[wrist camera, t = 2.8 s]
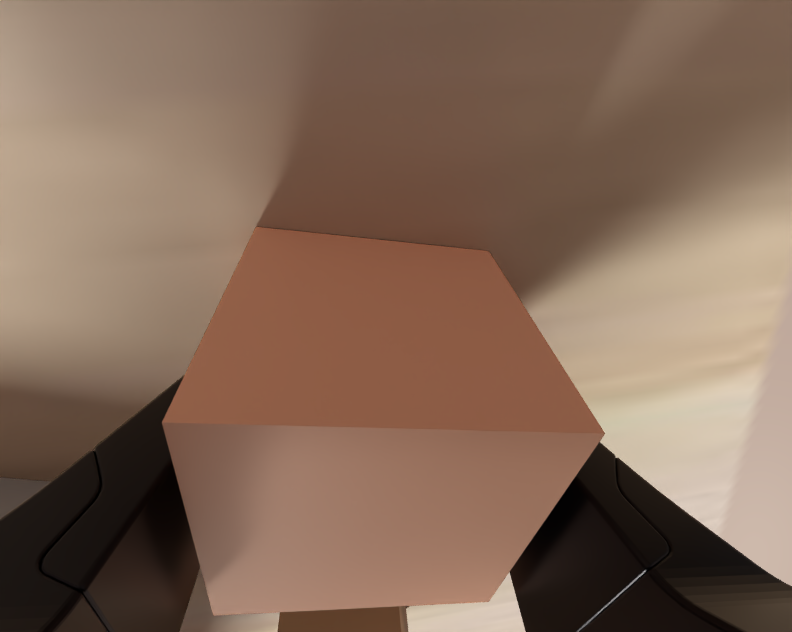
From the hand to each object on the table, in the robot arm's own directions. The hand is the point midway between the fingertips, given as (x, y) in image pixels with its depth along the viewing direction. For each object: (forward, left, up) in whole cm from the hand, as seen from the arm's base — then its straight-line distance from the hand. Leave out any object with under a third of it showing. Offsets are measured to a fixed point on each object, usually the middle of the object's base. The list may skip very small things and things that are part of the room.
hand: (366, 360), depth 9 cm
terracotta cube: (0, 0, -1) cm, 1 cm away
